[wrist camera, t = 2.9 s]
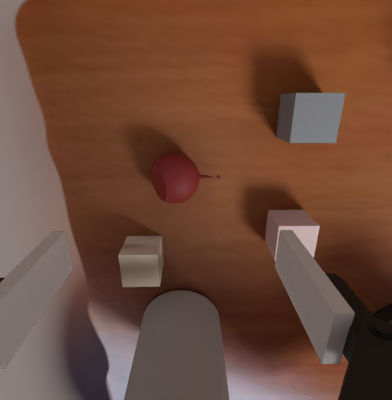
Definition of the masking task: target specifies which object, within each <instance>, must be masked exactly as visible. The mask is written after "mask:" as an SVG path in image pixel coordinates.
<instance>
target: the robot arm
mask: <svg viewBox="0 0 392 400" xmlns="http://www.w3.org/2000/svg"><path fill="white" fill-rule="evenodd" d="M275 269H276V271H277V273H278V275H279V277H280V279H281V281H282V283H283V285H284V287H285V289H286V291H287V293H288V295H289V297H290V299H291V302H292V304H293V306H294V308H295V310H296V312H297V314H298V316H299V318H300V320H301V322H302V324H303V326H304V328H305V330H306V332H307V334H308V336H309V338H310V341H311V343H312V345H313V347H314V349H315V351H316V353H317V355H318V357H319V359H320V361H321V363H322V364H340V362H341V359H342V356H343V354H344V356H345V357H346V359H347V361H348V362H349V364H348V367H347V370H346V373H345V376H344V380H343V384H342V388H341V391H340V395H339V398H338V400H392V305H391V306H388V307H386V308H384V309H382V310H381V311H379V312H378V313H376V314H375V315H374V316H373V315H372V314H371V312H370V311H369V310H368V309H367V308H366V306H365V305H364V304H363V303H362V302H361V300H360V299H359V298H358V297H357V296H356V295H355V293H354V292H353V291H352V289H350V287H349V286H348V285H347V283H346V282H345V281H344V280H343V279H341V278H340V277H338V276H337V275H336V274H325V273H324V271H323V270H322V269H321V267H320V266H319V265H318V263H317V262H316V261H315V259H314V258H313V257H312V255H311V254H310V253H309V252H308V250H307V249H306V248H305V246H304V245H303V244H302V242H301V241H300V240H299V238H298V237H297V236H296V234H295V233H294V232H293V230H280V232H279V239H278V246H277V254H276V261H275ZM72 270H73V265H72V261H71V256H70V251H69V247H68V242H67V237H66V232H52V233H51V234H50V235H49V236H48V237H47V238H46V239H45V240H44V241H42V243H40V244H39V245H38V247H36V248H35V249H34V250H33V251H32V252H31V253H30V254H29V255H28V256H27V257H26V258H25V259H24V260H23V261H22V262H21V263H20V264H19V265H18V266H17V267H16V268H15V269H14V270H13V271H12V272H11V273H10V274H9V275H8V276H7V277H6V278H0V369H5V368H6V366H7V365H8V364H9V362H10V360H11V359H12V358H13V356H14V355H15V353H16V352H17V350H18V349H19V347H20V346H21V345H22V343H23V342H24V340H25V338H26V337H27V336H28V334H29V333H30V331H31V330H32V329H33V327H34V326H35V324H36V323H37V321H38V320H39V318H40V317H41V315H42V314H43V313H44V311H45V310H46V308H47V307H48V305H49V304H50V302H51V301H52V299H53V298H54V296H55V295H56V293H57V292H58V290H59V289H60V288H61V286H62V285H63V283H64V282H65V280H66V279H67V277H68V276H69V275H70V273H71V272H72Z"/></svg>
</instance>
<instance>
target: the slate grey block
mask: <svg viewBox="0 0 392 400" xmlns="http://www.w3.org/2000/svg"><path fill="white" fill-rule="evenodd" d="M344 98H345V93H287V94H281V97H280V106H279V115H278V124H277V133H276V137H278V138H280V139H282V140H284V141H286V142H289V143H336V139H337V134H338V129H339V124H340V119H341V113H342V108H343V103H344Z"/></svg>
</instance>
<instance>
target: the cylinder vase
mask: <svg viewBox="0 0 392 400" xmlns="http://www.w3.org/2000/svg"><path fill="white" fill-rule="evenodd" d="M124 400H229V394H228V385H227V377H226V369H225V360H224V352H223V343H222V335H221V327H220V318H219V314H218V311H217V309H216V307H215V306H214V305H213V303H212V302H211V301H210V300H208V299H207V298H206V297H204V296H202V295H200V294H198V293H195V292H192V291H186V290H176V291H170V292H167V293H164V294H162V295H160V296H158V297H156V298H155V299H154V300H153V301H152V302H151V303H150V304H149V305H148V306H147V308H146V310H145V312H144V315H143V320H142V324H141V328H140V333H139V337H138V341H137V346H136V350H135V354H134V359H133V363H132V367H131V372H130V376H129V380H128V385H127V389H126V393H125V398H124Z"/></svg>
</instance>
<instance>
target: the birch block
mask: <svg viewBox="0 0 392 400" xmlns="http://www.w3.org/2000/svg"><path fill="white" fill-rule="evenodd" d="M118 257H119V264H120V272H121V280H122V287H160V283H161V277H162V272H163V266H164V261H163V244H162V236H127V238H126V240H125V242H124V244H123V246H122V248H121V251H120V253H119V255H118Z"/></svg>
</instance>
